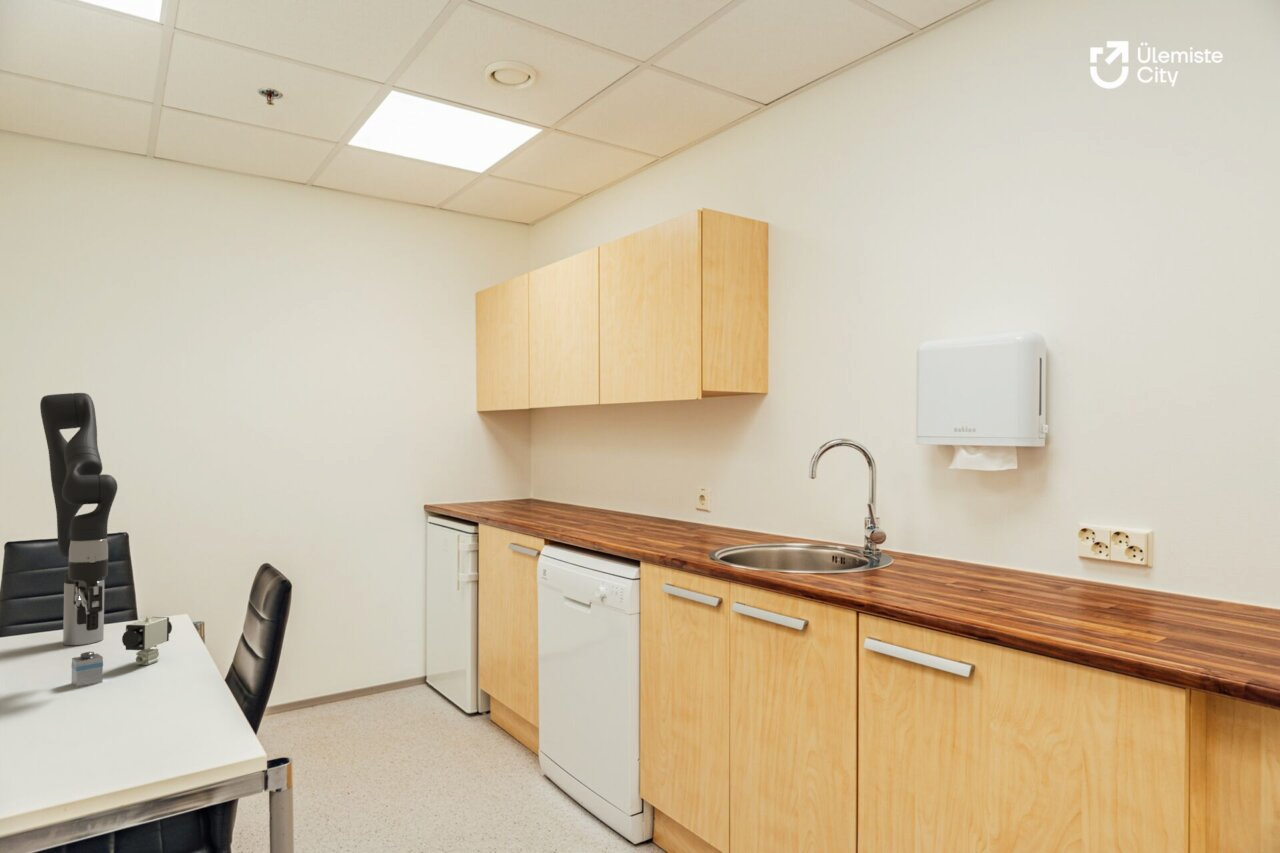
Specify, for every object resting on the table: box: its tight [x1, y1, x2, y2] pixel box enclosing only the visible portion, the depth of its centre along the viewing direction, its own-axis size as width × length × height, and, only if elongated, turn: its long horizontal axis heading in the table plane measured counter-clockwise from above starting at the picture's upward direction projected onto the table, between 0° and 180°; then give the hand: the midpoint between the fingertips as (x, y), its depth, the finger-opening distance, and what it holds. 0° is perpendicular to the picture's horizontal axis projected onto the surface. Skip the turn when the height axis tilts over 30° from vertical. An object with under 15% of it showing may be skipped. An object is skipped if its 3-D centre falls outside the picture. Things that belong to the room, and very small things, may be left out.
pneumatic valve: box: [121, 616, 173, 666], centre depth 190 cm, size 6×12×12 cm, turn 174°
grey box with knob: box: [70, 651, 104, 689], centre depth 174 cm, size 5×5×7 cm
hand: (87, 626), depth 174 cm, fingers open, 8 cm apart
